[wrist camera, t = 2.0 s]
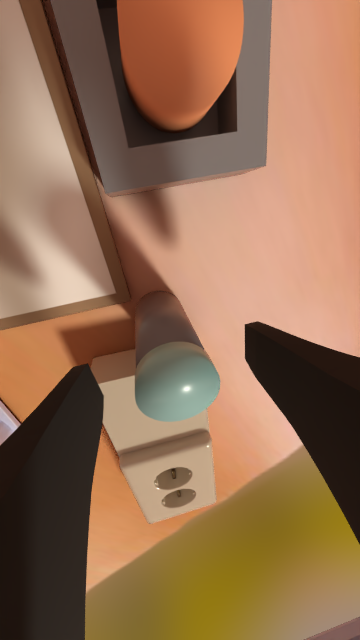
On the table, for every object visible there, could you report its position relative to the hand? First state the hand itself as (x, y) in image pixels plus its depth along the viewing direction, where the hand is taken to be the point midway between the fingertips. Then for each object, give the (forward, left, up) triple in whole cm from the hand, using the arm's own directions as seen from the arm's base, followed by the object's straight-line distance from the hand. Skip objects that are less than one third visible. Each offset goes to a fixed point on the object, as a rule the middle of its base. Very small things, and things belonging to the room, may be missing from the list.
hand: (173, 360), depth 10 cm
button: (+2, +10, -3) cm, 11 cm away
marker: (0, 0, -5) cm, 5 cm away
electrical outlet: (-2, -11, -6) cm, 13 cm away
